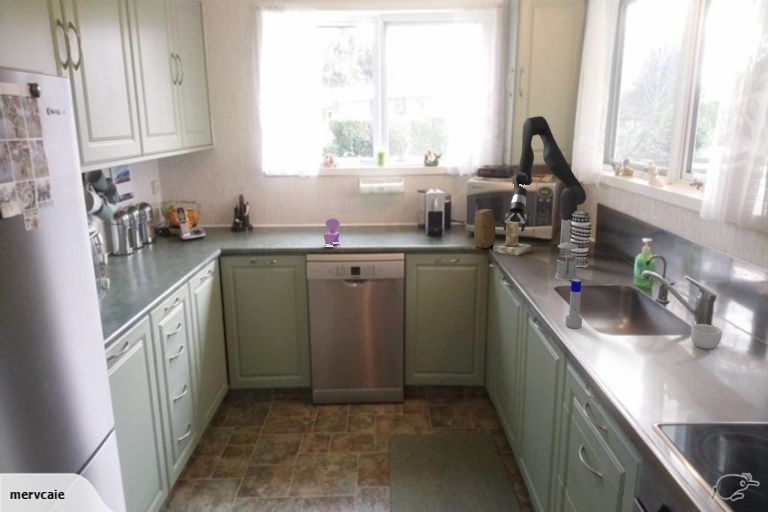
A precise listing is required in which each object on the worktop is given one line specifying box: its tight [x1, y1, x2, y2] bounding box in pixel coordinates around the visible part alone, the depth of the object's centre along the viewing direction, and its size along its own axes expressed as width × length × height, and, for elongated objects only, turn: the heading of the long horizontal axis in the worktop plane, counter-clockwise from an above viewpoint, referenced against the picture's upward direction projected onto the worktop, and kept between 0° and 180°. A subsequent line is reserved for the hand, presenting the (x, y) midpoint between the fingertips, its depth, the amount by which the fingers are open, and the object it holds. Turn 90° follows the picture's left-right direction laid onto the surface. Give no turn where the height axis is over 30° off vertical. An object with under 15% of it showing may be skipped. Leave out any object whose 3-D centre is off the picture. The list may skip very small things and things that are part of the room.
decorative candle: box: [569, 210, 592, 268], centre depth 245 cm, size 9×9×25 cm
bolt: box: [565, 278, 583, 329], centre depth 174 cm, size 16×5×5 cm
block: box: [473, 208, 496, 249], centre depth 287 cm, size 11×8×20 cm
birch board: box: [492, 241, 532, 257], centre depth 277 cm, size 14×13×3 cm
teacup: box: [690, 323, 723, 350], centre depth 158 cm, size 10×8×5 cm
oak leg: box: [505, 221, 520, 247], centre depth 276 cm, size 5×5×15 cm
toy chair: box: [323, 218, 341, 246], centre depth 298 cm, size 8×9×15 cm
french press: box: [554, 220, 578, 281], centre depth 226 cm, size 10×12×25 cm
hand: (513, 230), depth 279 cm, fingers open, 8 cm apart
